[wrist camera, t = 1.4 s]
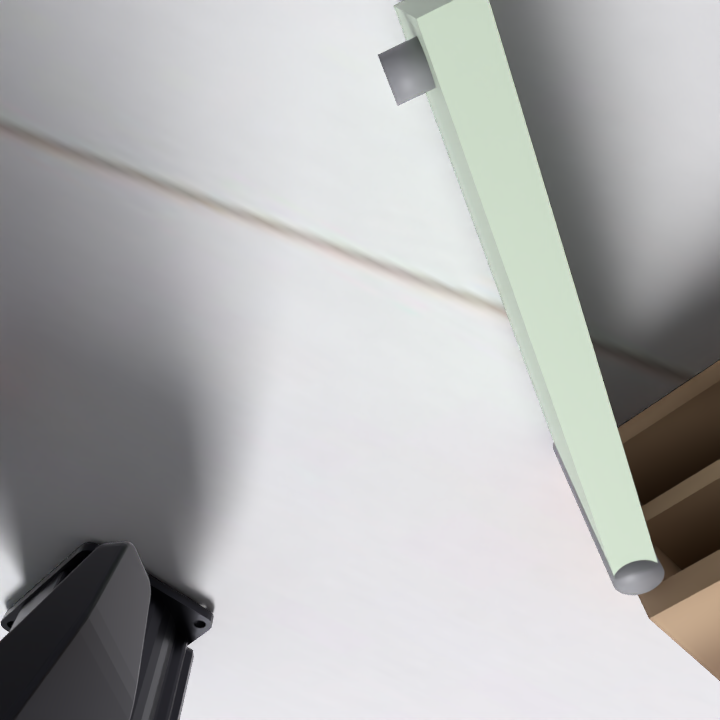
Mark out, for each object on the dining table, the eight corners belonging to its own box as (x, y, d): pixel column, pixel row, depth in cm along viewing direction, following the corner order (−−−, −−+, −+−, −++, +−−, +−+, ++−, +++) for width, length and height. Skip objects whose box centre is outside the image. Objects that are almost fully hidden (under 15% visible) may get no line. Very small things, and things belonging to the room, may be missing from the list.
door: (540, 470, 24) (594, 607, 18) (364, 20, 16) (372, 40, 11) (596, 451, 23) (668, 586, 18) (442, -19, 16) (490, -18, 11)
